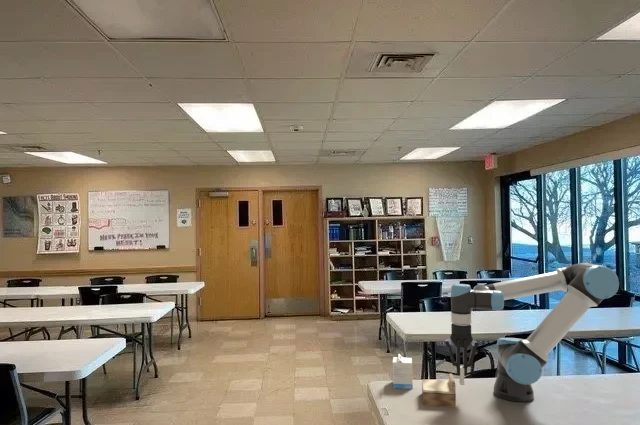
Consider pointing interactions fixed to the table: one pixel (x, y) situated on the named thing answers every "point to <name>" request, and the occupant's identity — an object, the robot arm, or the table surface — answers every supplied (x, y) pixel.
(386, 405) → the table surface
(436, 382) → the lid
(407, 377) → the ink box
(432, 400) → the box
